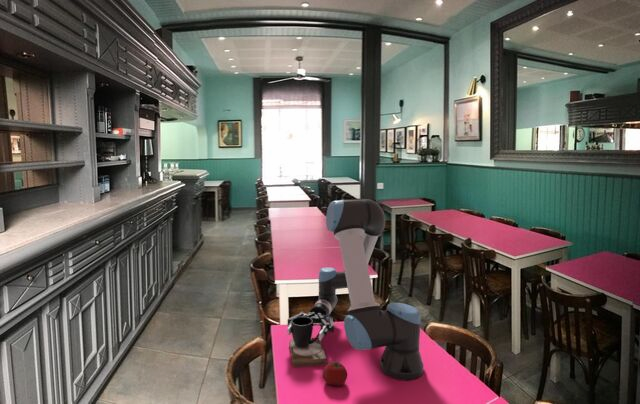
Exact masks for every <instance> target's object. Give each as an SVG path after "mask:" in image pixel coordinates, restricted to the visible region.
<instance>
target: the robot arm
mask: <svg viewBox="0 0 640 404" xmlns="http://www.w3.org/2000/svg"><path fill="white" fill-rule="evenodd" d="M325 220H326V221H325V223H326V224H325V225H326V229H327V230H328V231H329V232H332V233H333V237H334V239H336V240H338V242H339V246H340V254H341V258H342V264H343V269H344V271H343V270H342V271H337V270H336V268H333V267H327V266H326V267H322V268H320V269H319V270H318V271H319V272H318V300H317V301H316V302H315V304H314V305H313V306H312V307H311V309H310V311H309V312H307V313H305V312H304V311H300V312H299V313H297V314H296V315H293V316H291V317H289V318H287V328H286V334H287V336H290V335H292V330H291V321H292V319H293V318H296V317H301V316H304V317H309V318H311V319H312V320H313V323H321V324H322V325H323V328H322V330H321V331H320V330H319V331H320V333H319V332H318V333H319V336H318V338H319V340H320V341H322V340H323V338H324V336H327V335H329V333H330V332H331V333H334V332H335V323H334V315H331V313H332V311H333V310H334V308H335V307H336V306H337V303H338V296H337V294H336V293H337V291H336V290H340V289H347V292H348V296H349V302H350V306H349V308H348V309H347V315H346V316H345V317H344V318H343V319H344V320H343V323H344V324H343V328H344V333H345V336H346V338H347V341H348V343H349V344H350V345H351V347H352V348H354V349H355V350H356V351H362V350H365V351H366V350H371V349H377V348H381V347H385V348H384V350H383V353H382V355H381V357H380V361H379V362H380V364H379V365H380V370H381V371H382V372H383V373H384V374H385V375H386V376H388V377H391V378H393V379H396V380H401V381H411V380H416V379H418V378H420V377H421V376H422V375H423V374H424V363H423V359H422V356H421V351H420V337H421V336H420V334H421V333H420V332H421V324H422V322H421V313H420V311H419V310H418V309H417V308H416V307H414V306H413V305H409V304H406V303H402V302H390V303H388V304H387V306H386V310H382V308H381V304H379V303H378V302H376V300H375V294H374V290H373V285H372V280H371V275H370V271H369V266H368V264H369V262H370V260H371V256H372V254H373V251H374V249H375V245H376V243H377V241H378V238H379V237H380V236H381V235H382V234H383V233H384V230H385V227H386V214H385V212H384V210H383V208H382V207H381V206H380V205H379V203H377V202H376V201H375V200H372V199H370V198H369V199H368V198H362V199H340V200H338V199H337V200H333V201H331V202H330V203H329V205H328V207H327V210H326V219H325Z"/></svg>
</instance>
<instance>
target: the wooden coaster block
mask: <svg viewBox="0 0 640 404" xmlns="http://www.w3.org/2000/svg"><path fill="white" fill-rule="evenodd" d="M314 338H315V337H311V340H313V339H314ZM289 350H290V356H291V361H292V367H293V368H304V367H316V366H324V365H325V366H326V365H327V356H326V354H325V351H324V348H323V346H322V341H321V340H319V337H318V338H317V339H316V340H315V342H314V343H313V344H309V346H308V347H305V348H298V347H296V346H295V343H294V340H293V338H292V339H289Z"/></svg>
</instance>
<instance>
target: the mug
mask: <svg viewBox="0 0 640 404" xmlns="http://www.w3.org/2000/svg"><path fill="white" fill-rule="evenodd" d="M314 326H315V327H316V326H319V327H320V330H319V332H318V333H317V335H316V336H315V337H313V338H314V339H313V340H311V338H312V336H313V331H314ZM322 328H323V325H322V324H321V323H313V320H312V319H311V318H309V317H304V316H301V317H296V318H293V319H292V321H291V330H292V333H291V336H292V339H293V340H294V343H295V346H296V347H298V348H305V347H308V346H309V344H313V343H314V342H315V340H316V339H317V338H319V333H320V331H321V330H322Z"/></svg>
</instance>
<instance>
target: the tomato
mask: <svg viewBox="0 0 640 404" xmlns="http://www.w3.org/2000/svg"><path fill="white" fill-rule="evenodd" d="M322 377H323V380H324V382H325V383H326V384H327V385H329V386H335V387H340V386H343V385H344V384H345V383H346V381H347V379H348V371H347V368H346V367H345V366H344V364H342V363H341V362H339V361H336V360H334V361H330V362H329V363H328V364H326V365H325V366H324V368H323V371H322Z"/></svg>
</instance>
